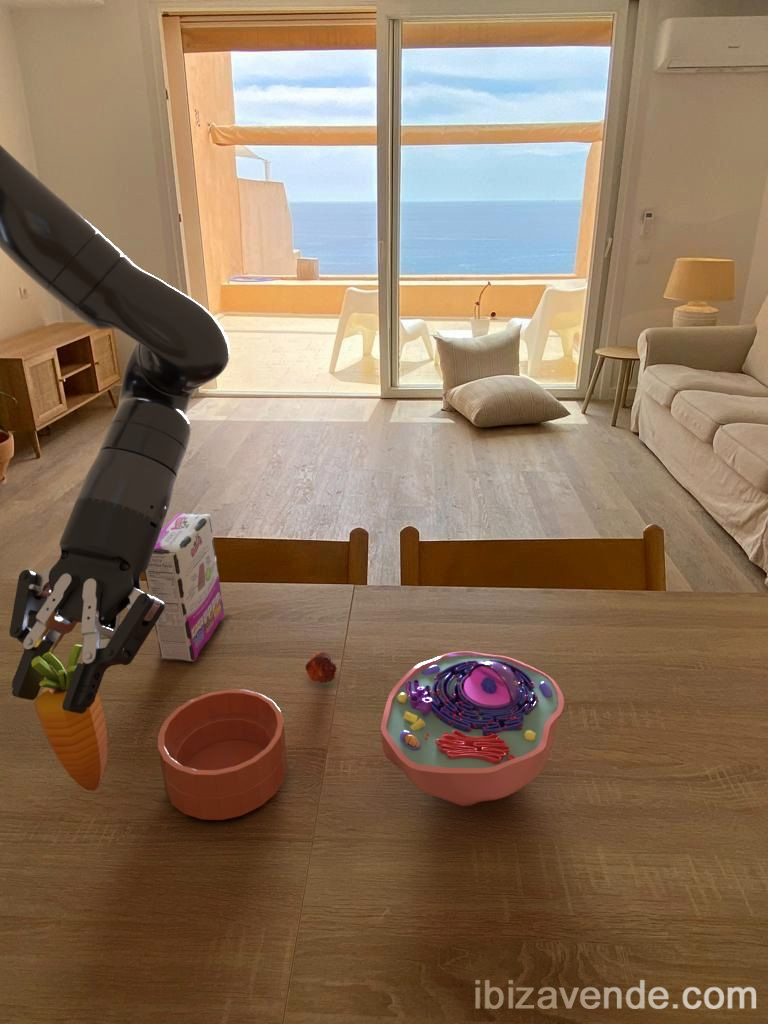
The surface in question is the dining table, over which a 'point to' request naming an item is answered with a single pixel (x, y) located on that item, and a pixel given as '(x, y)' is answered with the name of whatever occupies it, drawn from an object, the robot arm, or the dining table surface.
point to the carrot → (71, 723)
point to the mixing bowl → (223, 754)
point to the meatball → (321, 668)
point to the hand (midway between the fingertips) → (48, 703)
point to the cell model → (471, 725)
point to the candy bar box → (185, 586)
